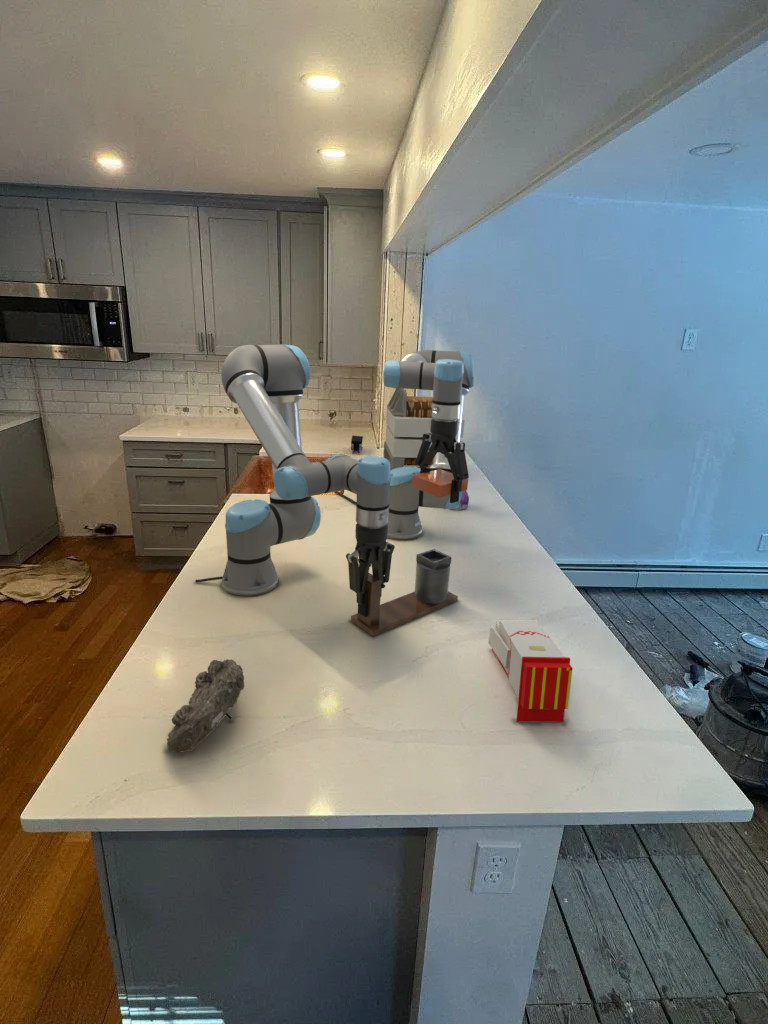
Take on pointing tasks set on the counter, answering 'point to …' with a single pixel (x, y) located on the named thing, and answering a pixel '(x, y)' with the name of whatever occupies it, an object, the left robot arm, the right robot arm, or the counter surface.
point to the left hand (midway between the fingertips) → (368, 612)
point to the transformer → (407, 428)
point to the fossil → (206, 705)
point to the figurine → (463, 501)
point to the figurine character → (356, 443)
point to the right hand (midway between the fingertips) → (438, 496)
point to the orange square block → (436, 483)
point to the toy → (533, 669)
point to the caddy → (409, 595)
